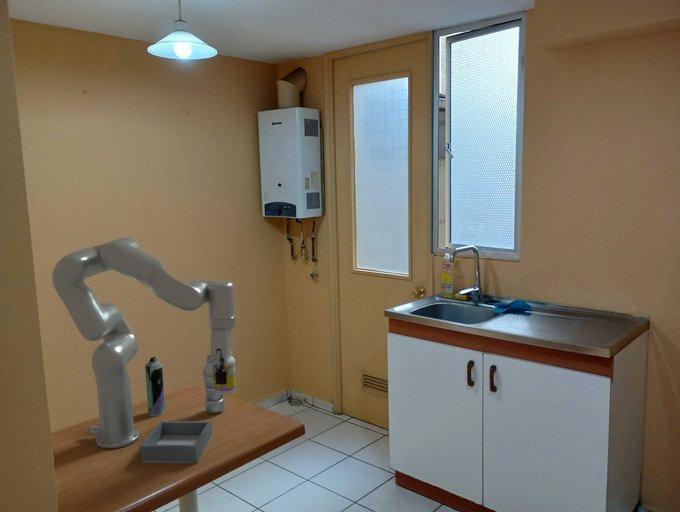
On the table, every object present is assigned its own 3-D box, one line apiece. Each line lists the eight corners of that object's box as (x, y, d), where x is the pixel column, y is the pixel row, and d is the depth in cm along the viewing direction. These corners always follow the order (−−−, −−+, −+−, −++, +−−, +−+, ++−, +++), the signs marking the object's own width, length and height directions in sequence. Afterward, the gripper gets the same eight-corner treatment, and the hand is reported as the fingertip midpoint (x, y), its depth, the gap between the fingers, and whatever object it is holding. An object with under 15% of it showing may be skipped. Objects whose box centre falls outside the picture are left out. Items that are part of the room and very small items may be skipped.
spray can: (162, 416, 188) (158, 359, 185) (146, 416, 188) (141, 360, 185) (167, 409, 193) (163, 354, 190) (151, 409, 193) (147, 354, 190)
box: (141, 462, 157) (140, 446, 157) (161, 436, 173) (160, 421, 173) (196, 463, 157) (195, 446, 156) (212, 436, 173) (211, 421, 172)
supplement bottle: (209, 391, 168) (207, 351, 166) (224, 384, 174) (222, 345, 172) (225, 396, 165) (224, 354, 163) (240, 388, 170) (239, 348, 168)
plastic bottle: (220, 416, 187) (217, 359, 184) (201, 415, 188) (198, 358, 185) (227, 408, 193) (225, 353, 190) (209, 407, 194) (206, 352, 191)
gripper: (217, 314, 175) (219, 369, 177) (201, 330, 157) (204, 390, 160) (240, 315, 174) (242, 369, 177) (227, 330, 157) (229, 390, 160)
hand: (224, 378), depth 169 cm, fingers closed on supplement bottle, 6 cm apart
